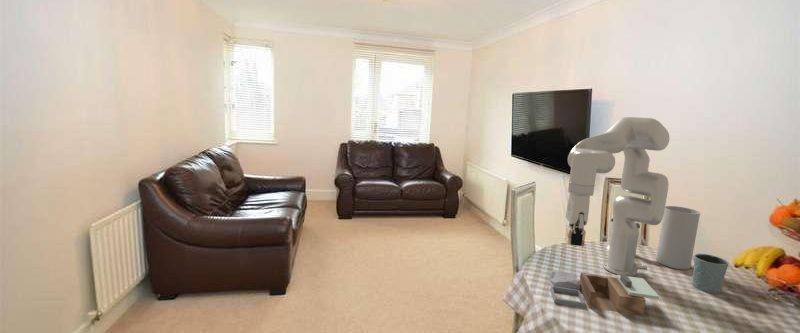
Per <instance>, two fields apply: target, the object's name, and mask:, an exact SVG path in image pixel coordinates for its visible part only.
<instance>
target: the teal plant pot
mask: <svg viewBox="0 0 800 333" xmlns="http://www.w3.org/2000/svg"><path fill="white" fill-rule="evenodd" d="M693 263H694V264H693V271H692V272H693V273H692V277H691V278H692V279H691V285H692V287H693V288H695V289H697V290H698V291H703V292H705V293H708V292H709V294H719V292H720V293H721V290H722V287H723V282H724V279H725V276H726V273H727V269H728V267H729V264H730V263H729V261H728V260H727V259H725V258H722V257H719V256H717V255H712V254H707V253H696V254H694V257H693Z"/></svg>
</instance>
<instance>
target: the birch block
mask: <svg viewBox="0 0 800 333" xmlns="http://www.w3.org/2000/svg"><path fill="white" fill-rule="evenodd" d="M573 227H574V226H569V224H568V225H566V227H565V233H564V240H565V242H566V244H567V245H570V246H572V245H571V236H572V233H573ZM576 228H577V227H576ZM586 233H587V231H586V230H585V229H583V238H582V245H581V246H580V247H585V243H586V242H585V240H586ZM575 246H577V245H575Z"/></svg>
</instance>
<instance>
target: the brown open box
mask: <svg viewBox="0 0 800 333" xmlns="http://www.w3.org/2000/svg"><path fill="white" fill-rule="evenodd" d="M579 281H580V283H581V289H580V293H581V295H582V297H583V299H584V301H585V304H586V305H587V307H588V308H590V309H595V310H596V309H597V310H603V311H610V312H616V313H621V314H627V315H634V316H639V317H643V316H644V315H645V314H644V313H645V307H646V301H647V300H646V298H645V297H639V296H632V295H629V294H628V293H627V291H626V290H625V289H624V287H623V286H622V285H621V283H620V282H619V280H618V279H617V278H616V276H607V275H599V274H592V273H585V272H580V274H579Z"/></svg>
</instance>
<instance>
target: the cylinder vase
mask: <svg viewBox="0 0 800 333" xmlns="http://www.w3.org/2000/svg"><path fill="white" fill-rule="evenodd" d="M700 216H701V212H700V210H696V209H692V208H689V207H683V206H675V205H665V210H664V215H663V219H662V221H661V225H660V231H659V232H660V233H659V237H658V238H659V239H658V244H657V250H656V256H655V261H656V262H657V263H659V264H660V265H662V266H665V267H667V268H671V269H674V270H689V269H690V268H691V267H692V260H693V255H694V251H695V244H696V238H697V235H698V234H697V232H698V227H699V222H700Z"/></svg>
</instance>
